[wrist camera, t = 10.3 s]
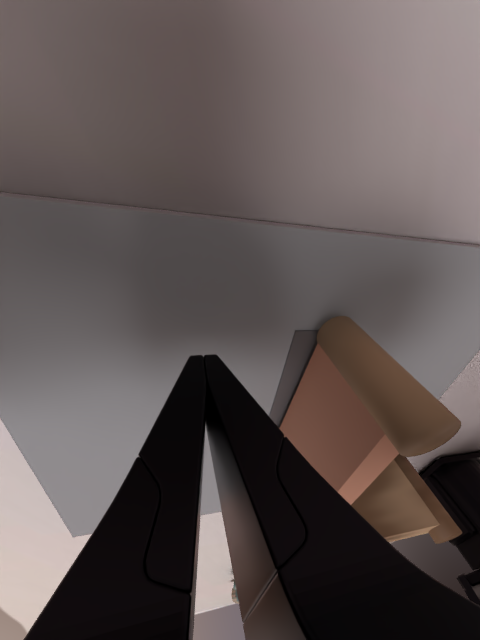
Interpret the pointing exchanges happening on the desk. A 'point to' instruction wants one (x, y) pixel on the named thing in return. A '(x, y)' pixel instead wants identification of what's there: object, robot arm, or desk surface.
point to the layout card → (194, 324)
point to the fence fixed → (404, 505)
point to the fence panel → (360, 410)
